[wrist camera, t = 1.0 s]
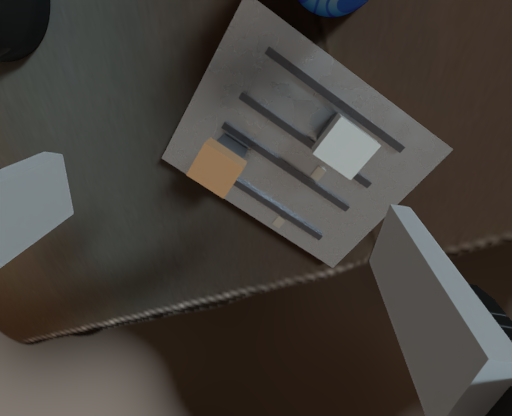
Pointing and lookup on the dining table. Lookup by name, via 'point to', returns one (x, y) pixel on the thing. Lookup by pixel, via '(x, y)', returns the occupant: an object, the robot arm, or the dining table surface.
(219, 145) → the fader
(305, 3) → the beer can
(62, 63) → the dining table surface
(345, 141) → the fader
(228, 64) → the console
